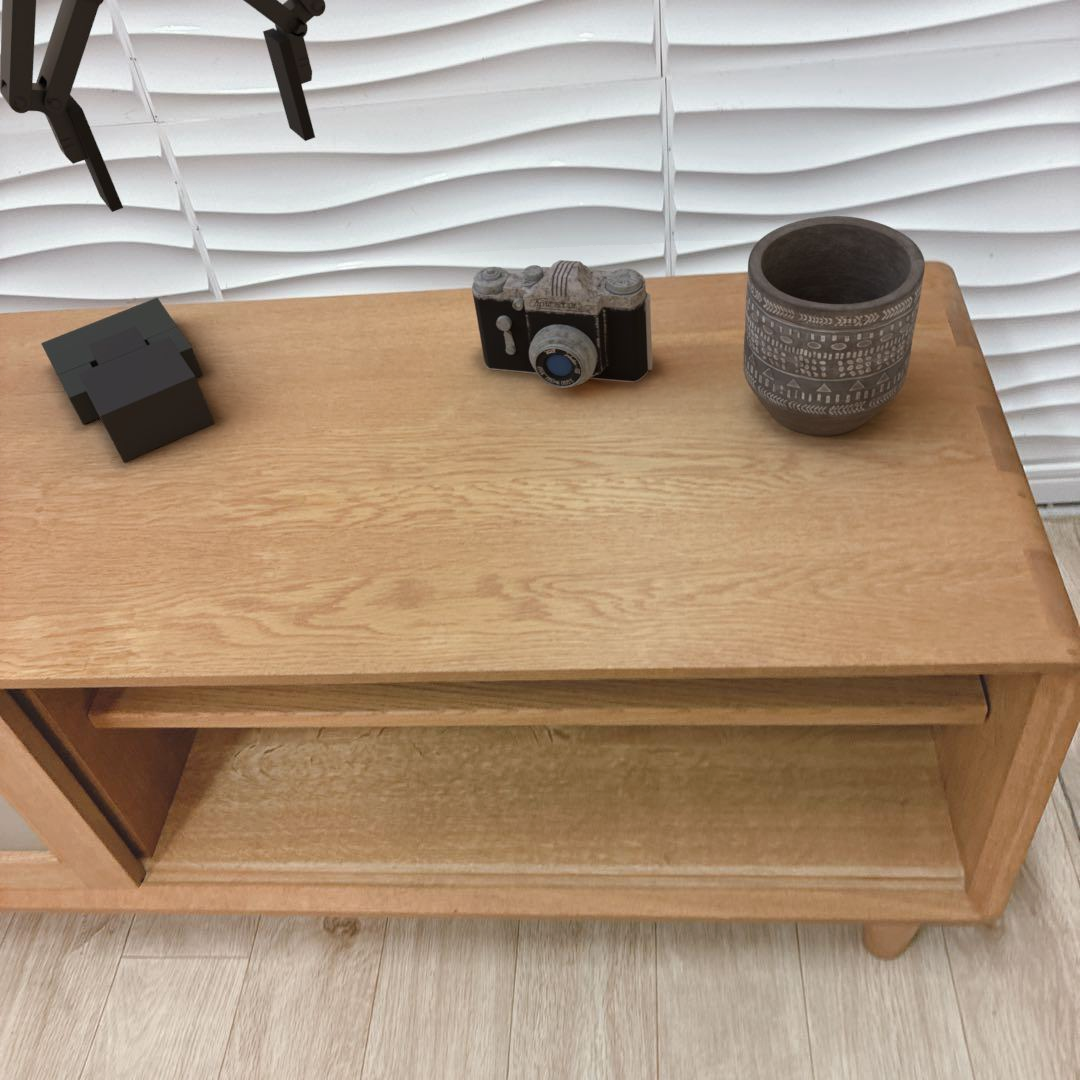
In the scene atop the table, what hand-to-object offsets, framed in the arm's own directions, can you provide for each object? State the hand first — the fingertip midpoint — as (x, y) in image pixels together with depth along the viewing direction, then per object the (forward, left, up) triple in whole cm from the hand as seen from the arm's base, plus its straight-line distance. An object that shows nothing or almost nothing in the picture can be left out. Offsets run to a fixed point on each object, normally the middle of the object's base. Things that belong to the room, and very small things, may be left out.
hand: (210, 167), depth 72 cm
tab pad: (-9, +12, -24) cm, 28 cm away
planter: (+35, -23, -24) cm, 48 cm away
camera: (+21, -7, -24) cm, 32 cm away
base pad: (-9, +19, -24) cm, 31 cm away
